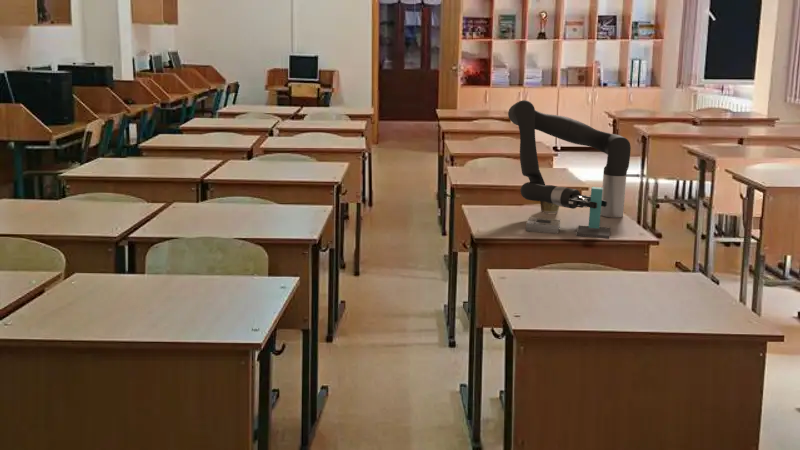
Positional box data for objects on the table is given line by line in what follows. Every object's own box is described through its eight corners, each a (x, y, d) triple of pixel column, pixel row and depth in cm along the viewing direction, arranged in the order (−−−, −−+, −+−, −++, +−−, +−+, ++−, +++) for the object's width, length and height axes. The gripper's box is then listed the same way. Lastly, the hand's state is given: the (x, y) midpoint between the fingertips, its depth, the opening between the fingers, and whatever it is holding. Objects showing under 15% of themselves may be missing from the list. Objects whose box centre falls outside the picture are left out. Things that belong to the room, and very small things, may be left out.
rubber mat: (578, 227, 362) (578, 225, 362) (610, 230, 359) (610, 227, 359) (576, 235, 348) (576, 233, 348) (609, 238, 346) (609, 235, 346)
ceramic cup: (557, 215, 383) (559, 191, 381) (534, 212, 388) (535, 189, 385) (566, 210, 395) (567, 186, 393) (543, 207, 399) (545, 184, 397)
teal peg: (588, 225, 356) (591, 186, 352) (599, 226, 355) (602, 187, 351) (588, 227, 352) (591, 188, 348) (599, 228, 351) (602, 189, 348)
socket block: (529, 224, 365) (529, 216, 364) (560, 226, 362) (560, 219, 362) (525, 230, 354) (526, 223, 353) (557, 233, 351) (558, 225, 350)
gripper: (554, 189, 356) (590, 197, 344) (578, 186, 365) (613, 193, 353) (553, 208, 358) (588, 216, 346) (576, 204, 367) (612, 212, 355)
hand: (601, 204), depth 349 cm, fingers closed on teal peg, 5 cm apart
